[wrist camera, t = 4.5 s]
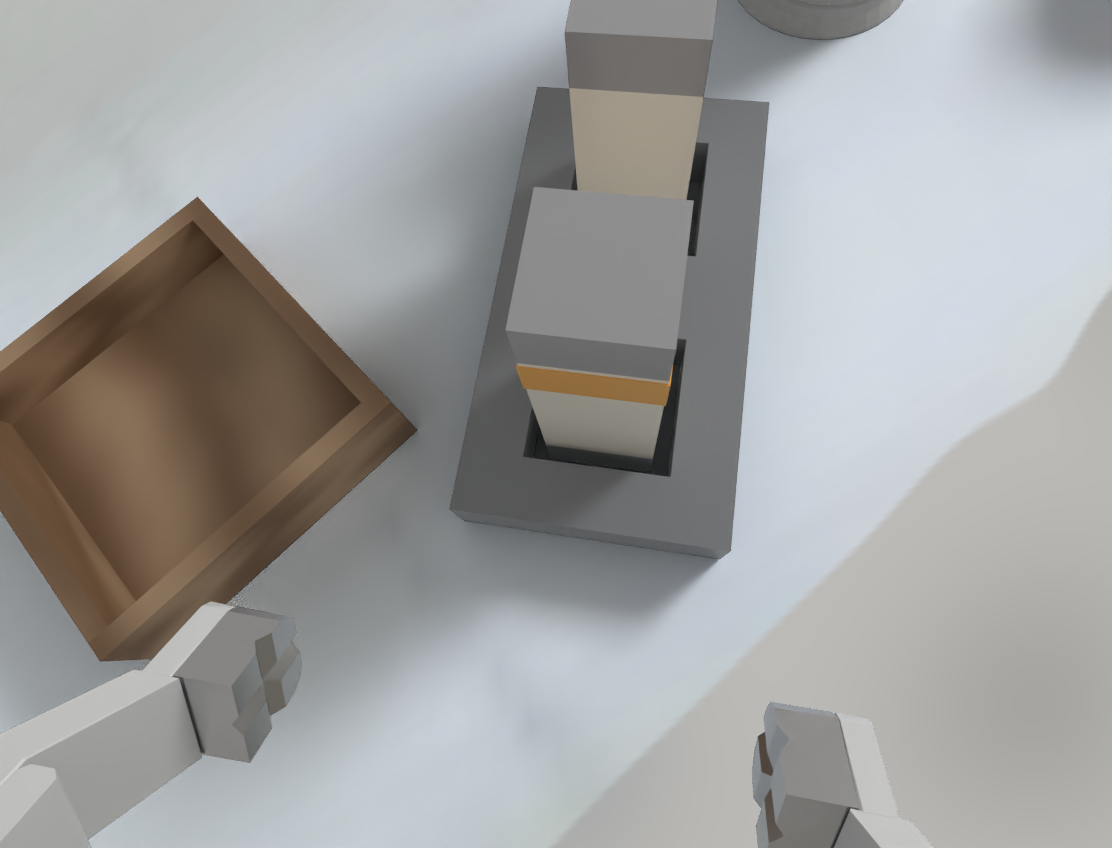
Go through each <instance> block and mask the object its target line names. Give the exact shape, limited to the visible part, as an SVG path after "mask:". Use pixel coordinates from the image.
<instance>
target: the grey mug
mask: <svg viewBox="0 0 1112 848" xmlns="http://www.w3.org/2000/svg"><path fill="white" fill-rule="evenodd" d="M739 2H740V3H741V5H742V6H743V7H744V8H745V9H746V11H747V12H748V13H749V14H751V15H752V16H753V17H754V18H755V19H757V20H758V21H759V22H761V23H763V24H765V25H766V26H768V27H770V28H772V29H774V30H777V31H779V32H782V33H784V34H788V35H792V36H796V37H800V38H809V39H836V38H842V37H848V36H852V35H855V34H858V33H861V32H864V31H867V30H869V29H871V28H873V27H875V26H877V25H879V24H880V23H881V22H883V21H884V20H886V19H887V18H888V17H890V16H891V15H892V14H893V13H894V12H895V11H896V10H897V9H898V7H899V6H900V5H901V3H902V2H903V0H739Z"/></svg>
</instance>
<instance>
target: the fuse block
mask: <svg viewBox="0 0 1112 848" xmlns="http://www.w3.org/2000/svg"><path fill="white" fill-rule="evenodd" d="M768 110H769V102H757V101H742V100H727V99H712V98H703V103H702V109H701V115H700V121H699V127H698V133H697V139H696V145H695V151H694V157H693V163H692V169H691V175H690V181H701V191H700V200H699V208H698V217H697V226H696V234H695V243H694V251H693V256H687V262H686V271H685V279H684V288H683V296H682V304H681V313H680V321H679V330H678V338H677V347H676V353H675V357H674V362H673V364H679V365H680V372H679V381H678V389H677V398H676V406H675V415H674V424H673V432H672V441H671V449H670V458H669V467H668V475H667V476H659V475H652V474H645V473H637V472H630V471H623V470H615V469H608V468H601V467H594V466H586V465H579V464H572V463H564V462H557V461H550V460H542V459H535V458H533V457H534V452H535V446H536V440H537V435H538V429H539V423H538V421H537V418H536V415H535V412H534V409H533V407H532V404H531V401H530V398H529V395H528V393H527V390H526V389H524V388H523V386H522V383H521V380H520V377H519V375H518V372H517V369H516V364H517V362H516V359H515V356H514V353H513V351H512V348H511V345H510V342H509V339H508V337H507V334H506V331H505V330H506V325H507V320H508V315H509V310H510V305H511V299H512V294H513V289H514V284H515V279H516V274H517V269H518V264H519V259H520V254H521V249H522V244H523V239H524V234H525V229H526V224H527V219H528V214H529V209H530V204H531V199H532V194H533V189H534V187H542V188H553V189H565V190H577V191H578V189H577V177H576V164H575V152H574V140H573V128H572V115H571V103H570V91H569V89H562V88H547V87H537V91H536V96H535V100H534V105H533V110H532V115H531V120H530V124H529V129H528V134H527V139H526V144H525V149H524V153H523V158H522V163H521V168H520V173H519V178H518V182H517V187H516V192H515V197H514V202H513V206H512V211H511V216H510V221H509V226H508V231H507V235H506V240H505V245H504V250H503V255H502V259H501V264H500V269H499V274H498V279H497V284H496V288H495V293H494V298H493V303H492V308H491V312H490V317H489V322H488V327H487V332H486V337H485V341H484V346H483V351H482V356H481V361H480V365H479V370H478V375H477V380H476V385H475V390H474V394H473V399H472V404H471V409H470V414H469V419H468V423H467V428H466V433H465V438H464V443H463V447H462V452H461V457H460V462H459V467H458V472H457V476H456V481H455V486H454V491H453V496H452V500H451V505H450V510H451V511H453V512H454V513H455V514H456V515H458V516H459V517H460V518H462V519H463V520H464V521H470V522H477V523H484V524H490V525H497V526H503V527H510V528H517V529H523V530H530V531H537V532H543V533H550V534H557V535H563V536H570V537H576V538H583V539H590V540H596V541H603V542H610V543H616V544H623V545H630V546H636V547H643V548H649V549H656V550H663V551H669V552H676V553H683V554H689V555H696V556H702V557H709V558H716V559H721V558H722V557H723V556H725V555H726V554H727V553H729V552H730V551H731V541H732V529H733V517H734V506H735V494H736V482H737V471H738V459H739V447H740V436H741V424H742V413H743V401H744V389H745V378H746V366H747V354H748V343H749V331H750V319H751V308H752V296H753V285H754V273H755V261H756V250H757V238H758V226H759V215H760V203H761V191H762V180H763V168H764V157H765V145H766V133H767V122H768Z"/></svg>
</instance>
